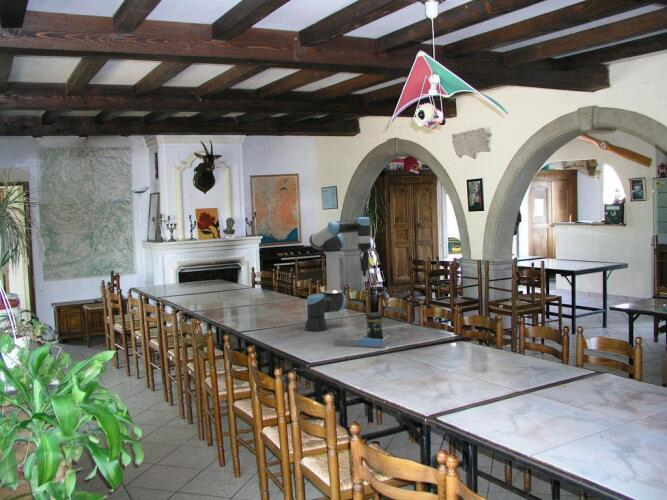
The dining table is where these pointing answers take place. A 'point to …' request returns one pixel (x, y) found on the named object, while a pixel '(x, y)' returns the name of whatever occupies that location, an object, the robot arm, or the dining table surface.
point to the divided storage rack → (361, 341)
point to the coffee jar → (374, 325)
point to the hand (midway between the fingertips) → (365, 281)
